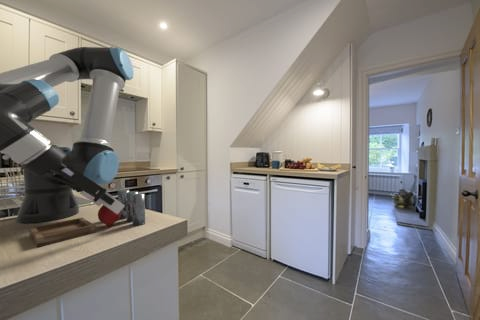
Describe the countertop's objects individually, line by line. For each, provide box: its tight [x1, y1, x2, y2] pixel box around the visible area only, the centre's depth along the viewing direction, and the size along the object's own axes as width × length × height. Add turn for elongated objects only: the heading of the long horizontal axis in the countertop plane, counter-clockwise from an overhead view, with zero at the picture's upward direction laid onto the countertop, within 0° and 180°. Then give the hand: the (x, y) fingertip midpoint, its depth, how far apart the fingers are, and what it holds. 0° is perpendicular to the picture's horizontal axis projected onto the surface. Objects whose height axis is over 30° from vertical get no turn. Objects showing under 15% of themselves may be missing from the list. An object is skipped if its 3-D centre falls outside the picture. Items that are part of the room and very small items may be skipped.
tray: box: [29, 217, 96, 248], centre depth 53 cm, size 11×11×2 cm
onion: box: [97, 204, 122, 227], centre depth 59 cm, size 6×6×8 cm
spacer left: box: [117, 189, 131, 220], centre depth 67 cm, size 3×3×9 cm
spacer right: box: [132, 192, 146, 227], centre depth 61 cm, size 3×3×9 cm
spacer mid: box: [126, 190, 139, 223], centre depth 64 cm, size 3×3×9 cm
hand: (111, 205), depth 59 cm, fingers open, 13 cm apart
